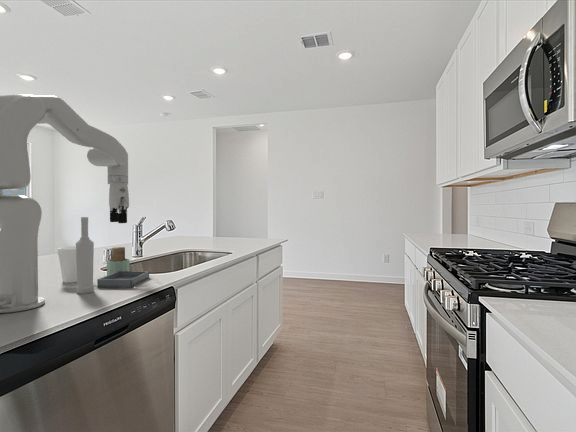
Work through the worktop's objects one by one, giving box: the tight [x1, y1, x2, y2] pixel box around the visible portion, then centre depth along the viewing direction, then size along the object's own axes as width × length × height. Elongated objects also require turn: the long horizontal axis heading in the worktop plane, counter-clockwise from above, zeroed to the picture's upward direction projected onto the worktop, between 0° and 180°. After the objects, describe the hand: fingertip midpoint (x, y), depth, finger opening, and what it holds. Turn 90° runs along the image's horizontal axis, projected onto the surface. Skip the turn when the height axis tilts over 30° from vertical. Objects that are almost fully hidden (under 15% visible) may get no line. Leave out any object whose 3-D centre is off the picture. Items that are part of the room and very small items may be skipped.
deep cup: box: [106, 257, 131, 276], centre depth 139 cm, size 8×8×6 cm
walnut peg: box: [110, 246, 126, 261], centre depth 139 cm, size 5×5×11 cm
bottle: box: [75, 216, 95, 295], centre depth 113 cm, size 5×5×25 cm
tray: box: [96, 270, 150, 289], centre depth 126 cm, size 15×12×3 cm
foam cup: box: [57, 245, 77, 283], centre depth 127 cm, size 10×9×13 cm
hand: (118, 222), depth 139 cm, fingers open, 9 cm apart
